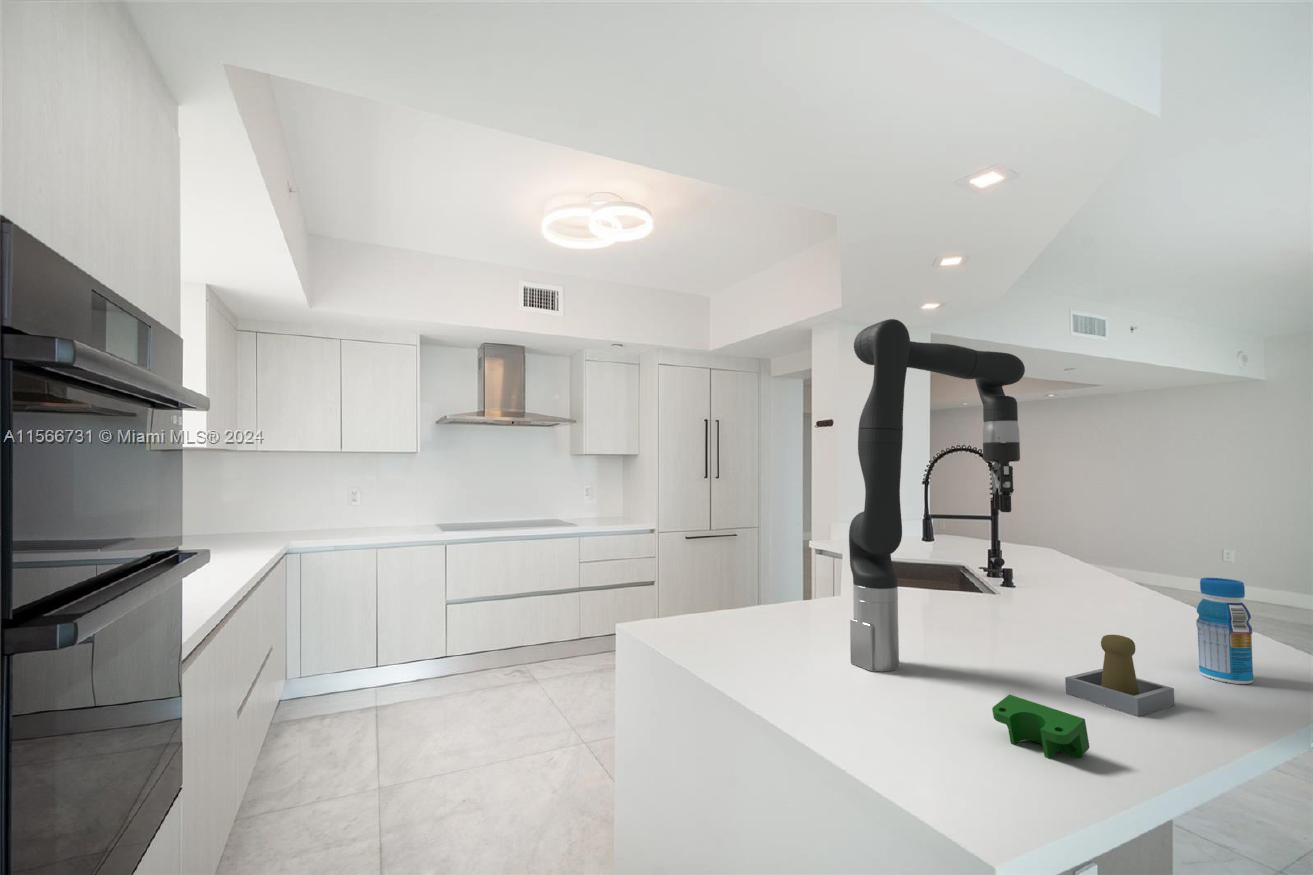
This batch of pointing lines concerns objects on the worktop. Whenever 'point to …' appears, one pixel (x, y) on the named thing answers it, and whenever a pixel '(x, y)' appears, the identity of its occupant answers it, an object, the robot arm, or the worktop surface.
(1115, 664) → the cork
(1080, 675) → the tray
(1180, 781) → the worktop surface
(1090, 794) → the worktop surface
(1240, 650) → the beverage bottle
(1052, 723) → the clamp
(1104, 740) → the worktop surface
